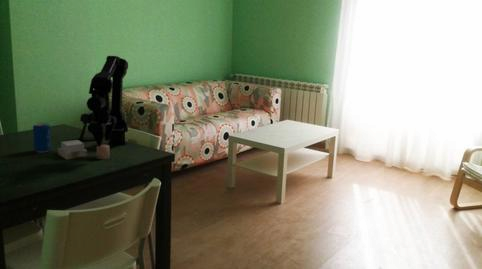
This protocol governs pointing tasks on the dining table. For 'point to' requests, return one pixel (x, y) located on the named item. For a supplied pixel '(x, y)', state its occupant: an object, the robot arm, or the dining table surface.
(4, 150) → the dining table surface
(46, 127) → the beverage can
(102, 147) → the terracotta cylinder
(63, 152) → the tower base
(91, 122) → the phone stand
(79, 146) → the tower top
